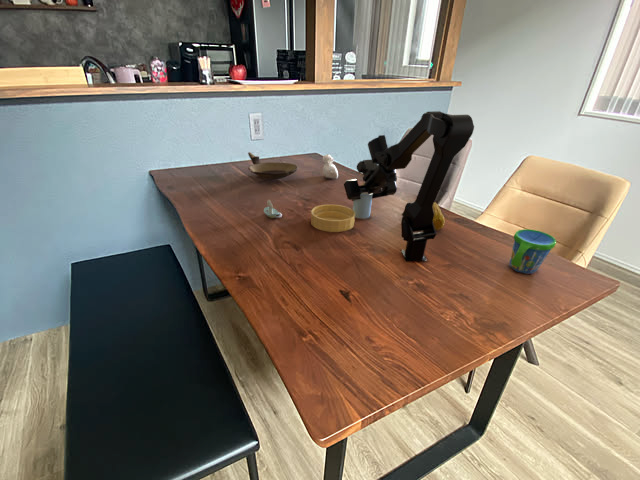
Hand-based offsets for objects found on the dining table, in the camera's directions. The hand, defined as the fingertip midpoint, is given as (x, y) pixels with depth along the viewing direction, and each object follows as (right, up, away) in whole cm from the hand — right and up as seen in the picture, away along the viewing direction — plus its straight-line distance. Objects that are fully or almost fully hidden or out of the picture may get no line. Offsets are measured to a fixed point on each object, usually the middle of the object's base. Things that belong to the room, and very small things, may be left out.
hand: (360, 198), depth 133 cm
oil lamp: (-38, +24, +39) cm, 60 cm away
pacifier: (-32, -7, 0) cm, 33 cm away
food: (+26, -8, +1) cm, 28 cm away
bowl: (-11, -11, -4) cm, 16 cm away
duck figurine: (-11, +29, +35) cm, 47 cm away
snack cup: (+45, -29, -25) cm, 59 cm away
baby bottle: (0, -6, +3) cm, 6 cm away
